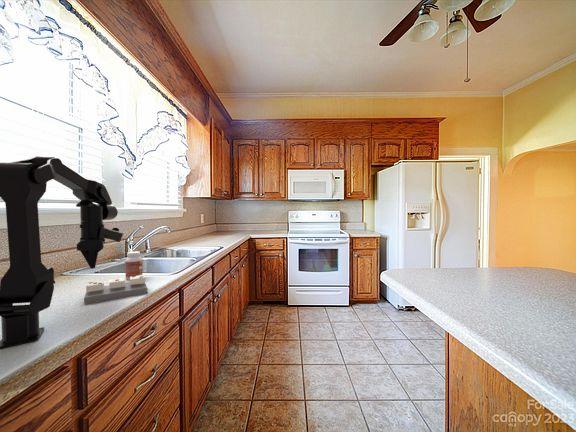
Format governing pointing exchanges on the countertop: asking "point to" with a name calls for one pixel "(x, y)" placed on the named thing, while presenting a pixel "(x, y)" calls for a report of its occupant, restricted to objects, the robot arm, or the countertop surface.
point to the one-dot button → (117, 283)
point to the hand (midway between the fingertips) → (92, 268)
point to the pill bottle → (133, 264)
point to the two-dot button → (137, 279)
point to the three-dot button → (95, 286)
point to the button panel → (115, 292)
